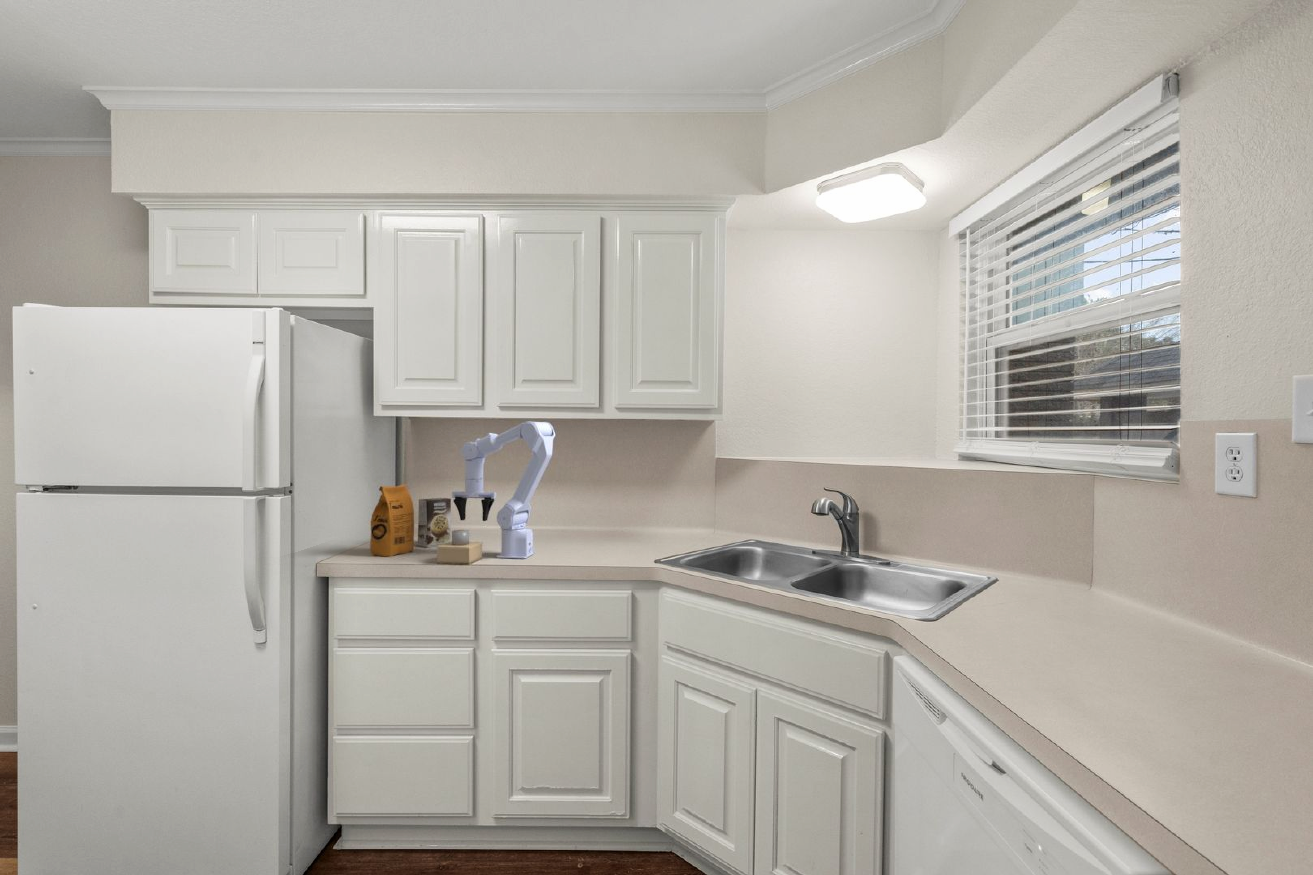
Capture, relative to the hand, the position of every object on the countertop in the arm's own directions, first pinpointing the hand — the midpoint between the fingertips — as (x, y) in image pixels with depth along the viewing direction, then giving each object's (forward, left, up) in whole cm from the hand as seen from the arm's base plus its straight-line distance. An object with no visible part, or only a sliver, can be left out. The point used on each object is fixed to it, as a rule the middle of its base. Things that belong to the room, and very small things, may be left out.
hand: (473, 520), depth 197 cm
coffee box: (+19, -10, -11) cm, 24 cm away
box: (-2, +14, -10) cm, 18 cm away
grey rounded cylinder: (-2, +14, -5) cm, 15 cm away
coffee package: (+25, +6, -11) cm, 28 cm away
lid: (-2, +14, -6) cm, 15 cm away
